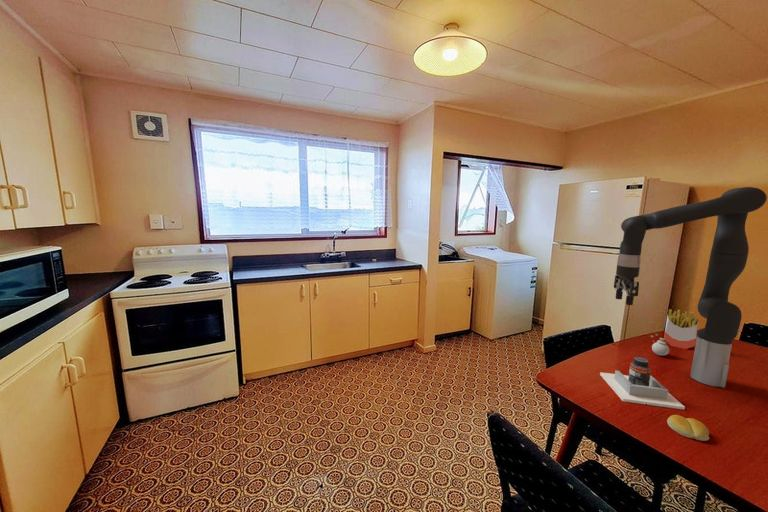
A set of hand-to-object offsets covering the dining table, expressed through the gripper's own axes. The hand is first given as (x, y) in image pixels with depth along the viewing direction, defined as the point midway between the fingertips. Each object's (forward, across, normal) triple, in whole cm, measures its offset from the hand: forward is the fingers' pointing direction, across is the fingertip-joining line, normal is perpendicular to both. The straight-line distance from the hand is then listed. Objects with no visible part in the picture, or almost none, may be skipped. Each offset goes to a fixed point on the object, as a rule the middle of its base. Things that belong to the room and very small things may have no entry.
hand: (623, 301), depth 128 cm
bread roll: (+29, -42, -1) cm, 51 cm away
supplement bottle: (+27, -22, +2) cm, 35 cm away
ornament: (+28, +14, -23) cm, 39 cm away
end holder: (+28, -22, +2) cm, 36 cm away
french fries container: (+28, +27, -39) cm, 55 cm away
